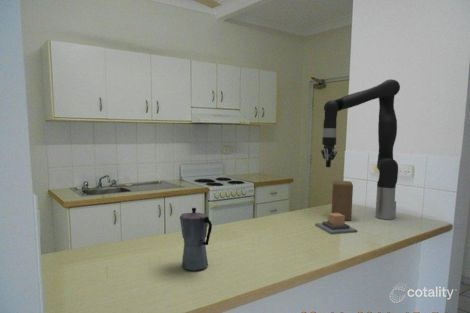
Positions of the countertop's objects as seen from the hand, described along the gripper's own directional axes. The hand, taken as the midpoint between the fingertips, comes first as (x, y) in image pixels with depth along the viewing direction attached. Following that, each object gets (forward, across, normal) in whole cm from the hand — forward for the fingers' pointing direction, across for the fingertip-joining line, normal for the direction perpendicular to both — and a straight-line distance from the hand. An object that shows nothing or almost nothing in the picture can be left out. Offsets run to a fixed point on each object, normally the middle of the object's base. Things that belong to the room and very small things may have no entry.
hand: (328, 167), depth 178 cm
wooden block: (+27, -10, -3) cm, 29 cm away
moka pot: (+27, -53, +83) cm, 102 cm away
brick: (+26, -26, +11) cm, 39 cm away
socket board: (+27, -26, +11) cm, 39 cm away
